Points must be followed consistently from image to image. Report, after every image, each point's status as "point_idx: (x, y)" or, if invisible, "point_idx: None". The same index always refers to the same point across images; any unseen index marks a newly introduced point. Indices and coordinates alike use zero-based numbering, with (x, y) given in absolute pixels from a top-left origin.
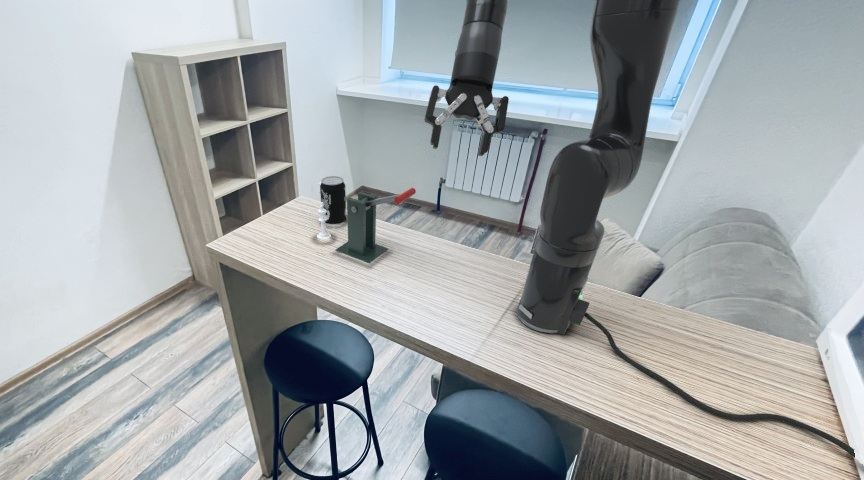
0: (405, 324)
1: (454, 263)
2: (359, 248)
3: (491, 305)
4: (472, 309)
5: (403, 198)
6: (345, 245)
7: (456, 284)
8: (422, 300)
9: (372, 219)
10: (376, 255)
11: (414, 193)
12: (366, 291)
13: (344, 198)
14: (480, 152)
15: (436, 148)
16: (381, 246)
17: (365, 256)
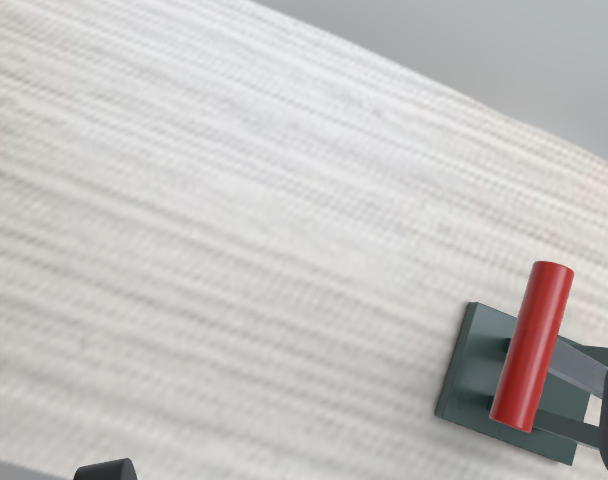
0: (303, 46)
1: (193, 414)
2: None
3: (56, 184)
4: (118, 150)
5: (533, 290)
6: (581, 391)
7: (177, 276)
8: (275, 163)
9: (572, 420)
10: (468, 356)
11: (493, 404)
12: (440, 171)
13: None
14: (128, 472)
15: (604, 414)
16: (468, 424)
17: (499, 338)
